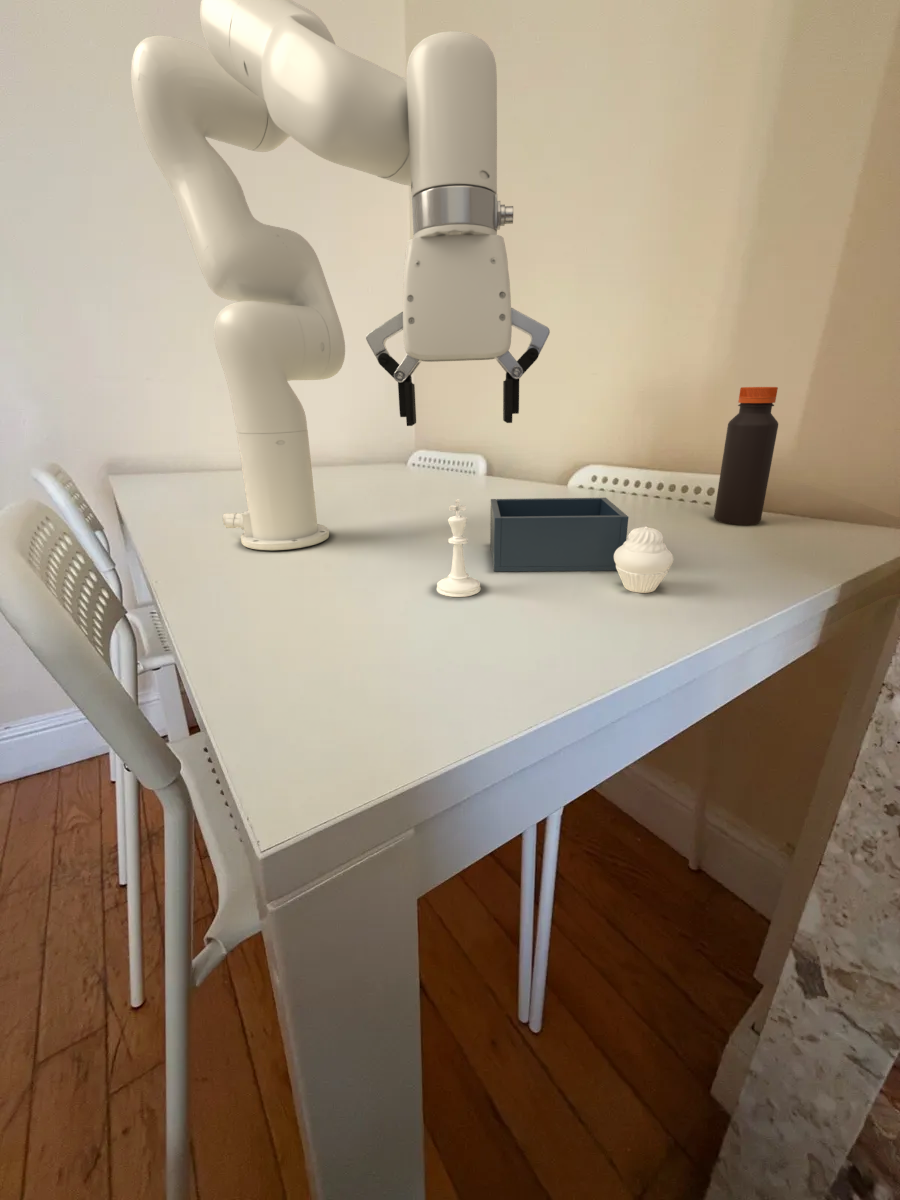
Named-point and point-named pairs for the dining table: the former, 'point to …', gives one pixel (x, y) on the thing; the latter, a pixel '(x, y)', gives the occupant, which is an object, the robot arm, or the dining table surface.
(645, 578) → the muffin
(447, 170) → the robot arm
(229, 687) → the dining table surface
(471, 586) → the chess piece
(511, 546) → the bin
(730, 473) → the bottle
